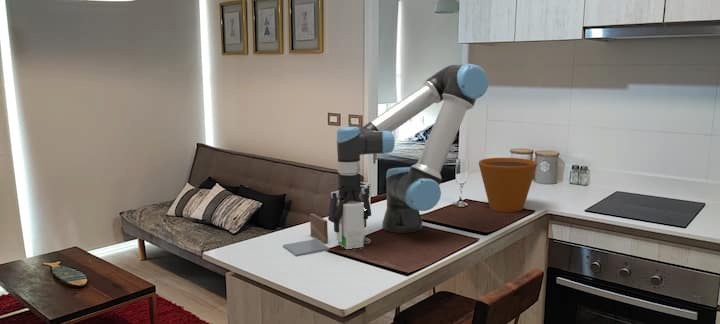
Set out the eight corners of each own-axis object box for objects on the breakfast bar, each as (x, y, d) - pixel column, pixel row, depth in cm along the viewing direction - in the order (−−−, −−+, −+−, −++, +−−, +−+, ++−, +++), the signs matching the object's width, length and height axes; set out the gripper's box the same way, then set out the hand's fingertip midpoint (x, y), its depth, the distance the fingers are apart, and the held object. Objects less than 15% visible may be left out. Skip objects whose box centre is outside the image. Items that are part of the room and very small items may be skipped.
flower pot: (515, 218, 214) (516, 168, 210) (466, 207, 231) (467, 162, 228) (546, 207, 229) (548, 161, 226) (499, 198, 247) (499, 155, 243)
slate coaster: (314, 240, 190) (314, 239, 189) (329, 249, 179) (329, 248, 179) (282, 246, 184) (282, 244, 184) (296, 256, 173) (296, 254, 173)
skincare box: (337, 244, 185) (336, 200, 183) (355, 241, 188) (354, 197, 185) (346, 251, 178) (345, 205, 175) (365, 248, 180) (364, 202, 178)
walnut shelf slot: (342, 229, 202) (341, 209, 201) (357, 237, 192) (357, 215, 191) (310, 235, 196) (310, 213, 195) (324, 243, 186) (324, 221, 185)
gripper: (370, 168, 187) (371, 231, 191) (315, 174, 177) (318, 241, 181) (381, 171, 181) (382, 236, 184) (325, 178, 171) (327, 247, 174)
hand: (350, 238), depth 183 cm, fingers open, 8 cm apart
